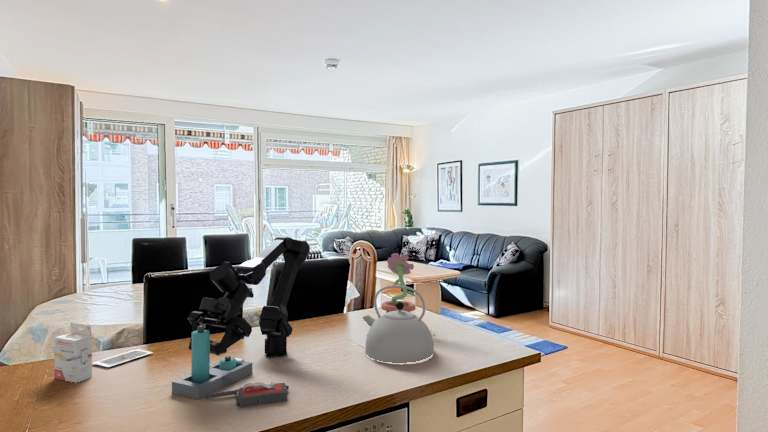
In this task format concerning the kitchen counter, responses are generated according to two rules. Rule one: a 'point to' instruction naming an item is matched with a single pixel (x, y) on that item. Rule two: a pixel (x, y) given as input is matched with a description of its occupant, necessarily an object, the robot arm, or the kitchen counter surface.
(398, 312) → the kettle
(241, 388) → the walkie-talkie
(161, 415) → the kitchen counter surface
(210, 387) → the grey holder base
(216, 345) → the electric trimmer
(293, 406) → the kitchen counter surface
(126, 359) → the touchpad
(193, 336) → the plug
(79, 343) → the ink cartridge box
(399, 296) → the decorative flower
